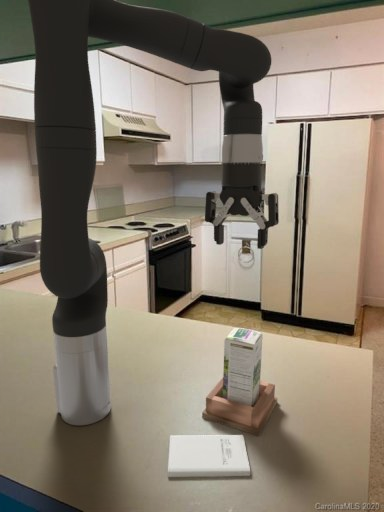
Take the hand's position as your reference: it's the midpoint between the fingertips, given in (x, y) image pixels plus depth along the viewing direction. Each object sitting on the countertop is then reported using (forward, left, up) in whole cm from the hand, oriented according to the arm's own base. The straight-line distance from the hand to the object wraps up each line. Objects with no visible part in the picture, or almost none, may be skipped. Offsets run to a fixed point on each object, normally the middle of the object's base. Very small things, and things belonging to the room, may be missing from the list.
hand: (240, 246), depth 75 cm
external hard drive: (+4, -22, -31) cm, 38 cm away
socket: (+4, -8, -30) cm, 31 cm away
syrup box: (+4, -8, -29) cm, 31 cm away
